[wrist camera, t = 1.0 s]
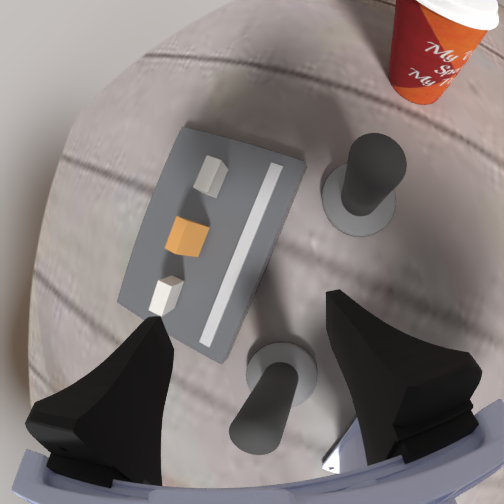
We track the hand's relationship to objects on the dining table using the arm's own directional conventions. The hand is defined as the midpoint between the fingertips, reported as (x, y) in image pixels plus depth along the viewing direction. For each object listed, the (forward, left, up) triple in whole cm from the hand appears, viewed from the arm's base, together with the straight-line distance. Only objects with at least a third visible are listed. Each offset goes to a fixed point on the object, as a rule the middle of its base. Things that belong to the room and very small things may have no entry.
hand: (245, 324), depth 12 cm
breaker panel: (+8, -1, -12) cm, 15 cm away
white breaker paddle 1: (+8, +4, -10) cm, 14 cm away
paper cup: (-5, -23, -12) cm, 27 cm away
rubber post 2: (-3, -9, -12) cm, 15 cm away
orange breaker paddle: (+8, -1, -10) cm, 13 cm away
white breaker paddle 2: (+8, -6, -10) cm, 15 cm away
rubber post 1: (-3, +7, -12) cm, 14 cm away
